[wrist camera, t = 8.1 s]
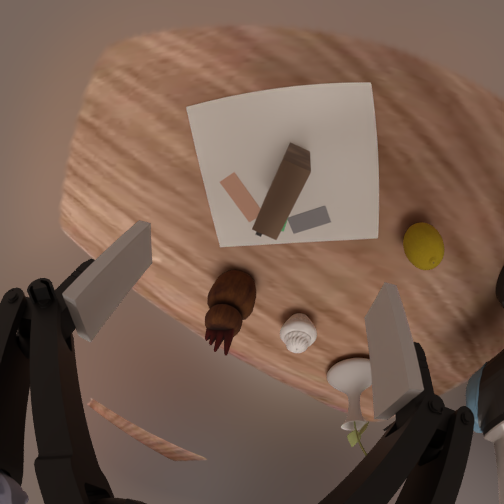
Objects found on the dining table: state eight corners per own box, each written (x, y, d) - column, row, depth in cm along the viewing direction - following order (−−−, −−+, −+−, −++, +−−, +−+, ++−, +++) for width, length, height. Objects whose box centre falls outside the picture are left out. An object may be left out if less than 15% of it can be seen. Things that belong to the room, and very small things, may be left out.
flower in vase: (360, 385, 54) (360, 484, 33) (317, 376, 54) (307, 483, 34) (393, 353, 47) (405, 469, 26) (347, 342, 47) (347, 470, 26)
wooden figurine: (263, 271, 42) (241, 348, 29) (256, 298, 45) (235, 373, 33) (220, 259, 42) (185, 331, 30) (217, 287, 46) (185, 357, 33)
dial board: (375, 233, 35) (378, 238, 34) (223, 242, 40) (220, 247, 39) (368, 83, 25) (371, 82, 24) (190, 106, 31) (185, 107, 29)
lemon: (390, 227, 34) (406, 259, 27) (421, 205, 31) (443, 233, 25) (407, 254, 36) (423, 288, 29) (436, 234, 33) (457, 265, 26)
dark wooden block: (309, 149, 29) (310, 172, 21) (267, 237, 37) (252, 286, 28) (290, 140, 29) (283, 159, 21) (250, 229, 36) (230, 276, 28)
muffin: (275, 322, 47) (270, 353, 42) (292, 301, 44) (289, 333, 38) (305, 335, 48) (303, 366, 42) (324, 315, 44) (324, 347, 39)
